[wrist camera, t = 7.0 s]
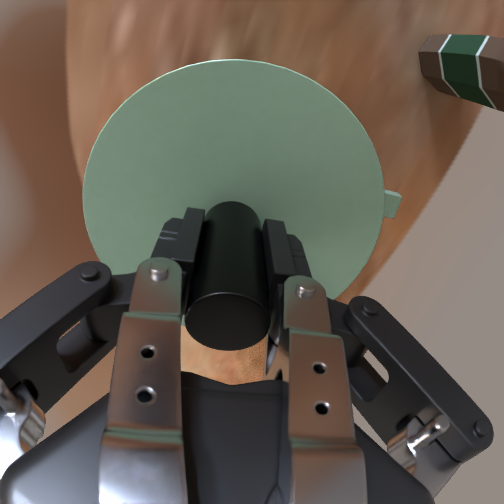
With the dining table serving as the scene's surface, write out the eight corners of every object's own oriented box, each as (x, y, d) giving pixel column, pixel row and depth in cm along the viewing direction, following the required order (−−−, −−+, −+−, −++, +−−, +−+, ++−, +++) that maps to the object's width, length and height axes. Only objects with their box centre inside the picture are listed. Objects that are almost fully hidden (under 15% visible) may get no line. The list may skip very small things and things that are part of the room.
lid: (97, 52, 9) (-13, 59, 4) (411, 108, 11) (518, 155, 5) (104, 301, 16) (68, 393, 11) (324, 328, 18) (347, 422, 13)
